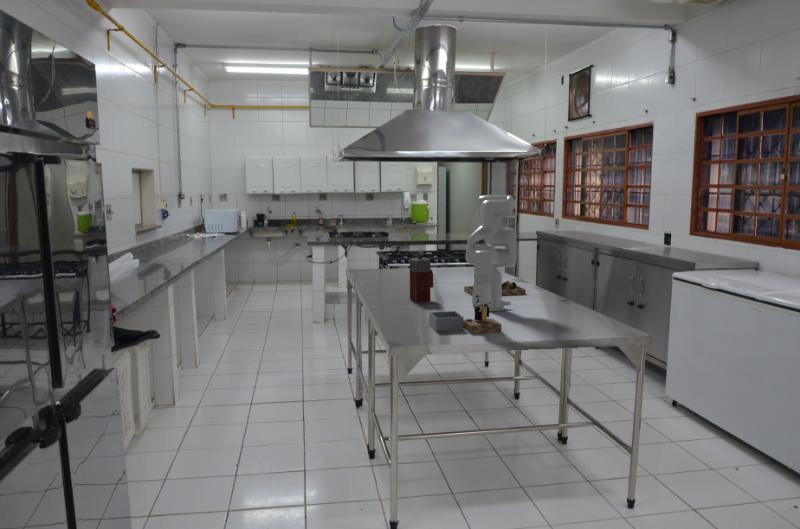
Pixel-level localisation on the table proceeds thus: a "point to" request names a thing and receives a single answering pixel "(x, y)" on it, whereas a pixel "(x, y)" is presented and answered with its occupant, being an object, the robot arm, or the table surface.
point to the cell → (483, 315)
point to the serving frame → (505, 291)
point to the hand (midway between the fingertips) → (482, 318)
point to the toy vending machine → (420, 278)
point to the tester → (481, 326)
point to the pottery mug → (509, 285)
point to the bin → (446, 321)
